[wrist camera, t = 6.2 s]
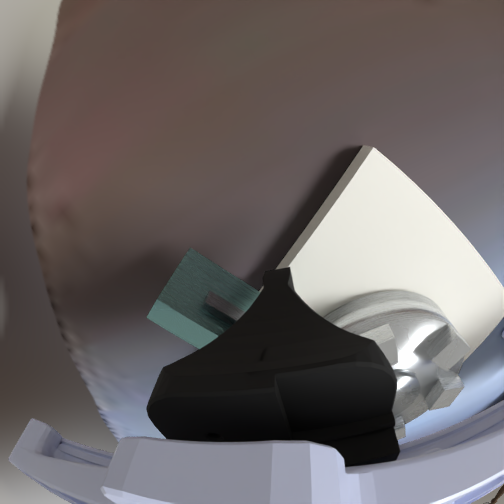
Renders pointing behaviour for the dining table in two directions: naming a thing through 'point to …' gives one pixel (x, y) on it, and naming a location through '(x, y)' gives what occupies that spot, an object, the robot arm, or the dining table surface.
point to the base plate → (392, 250)
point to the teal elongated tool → (346, 317)
